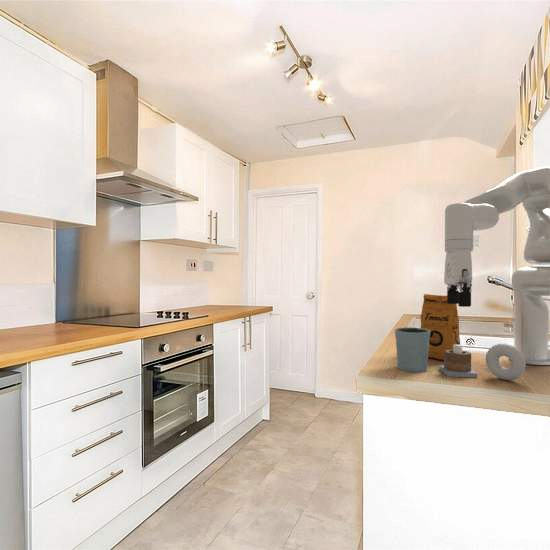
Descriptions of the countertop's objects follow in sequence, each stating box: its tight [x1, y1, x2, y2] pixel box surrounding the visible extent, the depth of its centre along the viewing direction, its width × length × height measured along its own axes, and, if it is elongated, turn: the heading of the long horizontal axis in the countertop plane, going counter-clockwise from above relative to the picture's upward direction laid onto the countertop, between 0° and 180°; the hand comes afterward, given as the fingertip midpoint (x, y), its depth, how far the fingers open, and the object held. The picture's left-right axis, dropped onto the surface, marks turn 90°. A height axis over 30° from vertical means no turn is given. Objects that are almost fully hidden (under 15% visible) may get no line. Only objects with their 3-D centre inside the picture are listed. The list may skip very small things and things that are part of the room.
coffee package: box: [420, 293, 461, 361], centre depth 132 cm, size 10×12×22 cm
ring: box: [443, 350, 472, 372], centre depth 113 cm, size 7×7×5 cm
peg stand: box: [438, 344, 479, 378], centre depth 112 cm, size 8×8×8 cm
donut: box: [485, 343, 527, 381], centre depth 106 cm, size 10×4×10 cm, turn 37°
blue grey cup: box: [394, 326, 430, 373], centre depth 117 cm, size 10×10×12 cm
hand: (458, 305), depth 112 cm, fingers open, 9 cm apart
